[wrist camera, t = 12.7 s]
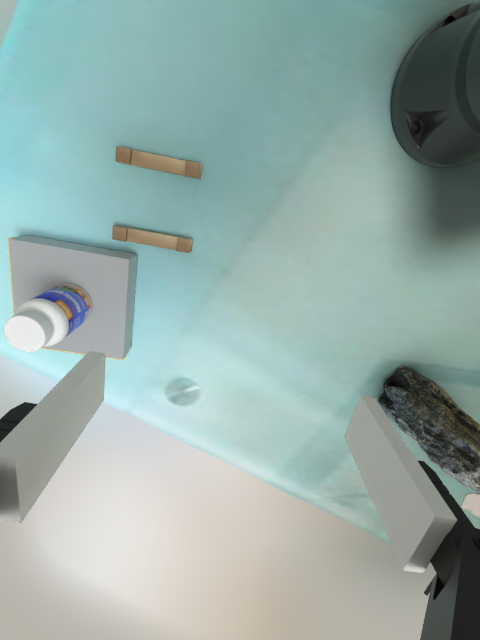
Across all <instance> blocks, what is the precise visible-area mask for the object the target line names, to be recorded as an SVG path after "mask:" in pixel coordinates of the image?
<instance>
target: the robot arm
mask: <svg viewBox="0 0 480 640" xmlns="http://www.w3.org/2000/svg"><path fill="white" fill-rule="evenodd" d="M391 116H392V123H393V127H394V131H395V134H396V137H397V139H398V141H399V143H400V144H401V146H402V147H403V149H404V150H405V151H406V152H407V153H408V154H409V155H410V156H411V157H412V158H413V159H415V160H416V161H418V162H420V163H422V164H425V165H428V166H432V167H450V166H457V165H462V164H466V163H470V162H473V161H475V160H478V159H480V1H479V2H475V3H471V4H468V5H465V6H463V7H461V8H458V9H456V10H455V11H453V12H451V13H449V14H448V15H446V16H445V17H443V18H442V19H441V20H439V21H438V22H437V23H436V24H435V25H434V26H432V27H431V28H430V29H429V30H428V31H427V32H425V33H424V34H423V35H422V36H421V37H420V38H419V39H418V41H417V42H416V43H415V44H414V45H413V47H412V48H411V50H410V51H409V52H408V54H407V56H406V57H405V59H404V61H403V63H402V65H401V67H400V69H399V72H398V74H397V77H396V80H395V84H394V88H393V93H392V101H391ZM105 355H106V353H100V352H94V351H89V352H88V353H87V354H86V355H85V356H84V357H83V358H82V359H81V360H80V361H79V362H78V363H77V364H76V365H75V366H74V367H73V369H72V370H71V371H70V372H69V373H68V374H67V375H66V376H65V377H64V378H63V379H62V380H61V381H60V382H59V383H58V384H57V385H56V386H55V387H54V388H53V389H52V390H51V391H50V392H49V393H48V394H47V395H46V396H45V397H44V398H43V399H42V400H41V401H40V402H39V403H38V404H33V403H26V402H24V403H23V404H21V405H19V406H17V407H15V408H13V409H11V410H10V411H9V412H8V413H7V414H5V415H4V416H3V417H2V418H1V419H0V521H9V522H16V523H22V521H23V519H24V518H25V516H26V515H27V513H28V512H29V510H30V509H31V507H32V506H33V505H34V503H35V502H36V500H37V499H38V497H39V496H40V494H41V493H42V491H43V490H44V488H45V487H46V485H47V484H48V482H49V481H50V479H51V477H52V476H53V475H54V473H55V472H56V470H57V469H58V467H59V466H60V464H61V463H62V461H63V460H64V458H65V457H66V455H67V454H68V452H69V451H70V449H71V448H72V446H73V445H74V443H75V442H76V440H77V439H78V437H79V436H80V434H81V433H82V431H83V430H84V428H85V427H86V425H87V424H88V422H89V421H90V419H91V418H92V417H93V415H94V414H95V412H96V411H97V409H98V408H99V406H100V405H101V403H102V402H103V400H104V382H105ZM344 437H345V439H346V442H347V444H348V446H349V449H350V451H351V453H352V455H353V458H354V460H355V462H356V464H357V467H358V469H359V471H360V474H361V476H362V478H363V480H364V483H365V485H366V487H367V489H368V492H369V494H370V496H371V499H372V501H373V503H374V505H375V508H376V510H377V512H378V514H379V517H380V519H381V521H382V524H383V526H384V528H385V530H386V533H387V535H388V537H389V539H390V542H391V544H392V546H393V549H394V551H395V553H396V555H397V558H398V560H399V562H400V564H401V567H402V569H403V570H405V571H413V572H422V573H423V572H424V571H425V569H426V568H427V566H428V565H429V563H430V562H431V563H432V565H433V567H434V569H435V571H436V572H437V574H436V575H435V577H434V578H433V580H432V581H431V582H430V584H429V585H428V587H427V589H426V590H425V592H424V593H425V594H426V595H428V594H429V592H430V595H429V600H428V605H427V610H426V614H425V619H424V624H423V629H422V634H421V639H420V640H480V529H477V528H475V527H474V526H473V525H472V523H471V522H470V520H469V519H468V518H467V516H466V515H465V513H464V512H463V511H462V509H461V508H460V506H459V505H458V504H457V502H456V501H455V499H454V498H453V497H452V495H451V494H449V491H448V490H447V488H446V487H445V485H443V483H442V481H441V480H440V478H439V477H438V476H437V474H436V473H435V472H434V471H433V470H432V469H431V468H430V467H429V466H428V465H427V464H426V463H425V462H424V461H417V460H416V458H415V457H414V455H413V454H412V452H411V451H410V449H409V448H408V446H407V445H406V443H405V442H404V440H403V439H402V438H401V436H400V435H399V433H398V432H397V430H396V429H395V427H394V426H393V424H392V423H391V421H390V420H389V418H388V417H387V415H386V414H385V412H384V411H383V409H382V408H381V407H380V405H379V404H378V402H377V401H376V399H375V398H374V397H368V396H362V395H360V398H359V400H358V403H357V405H356V408H355V411H354V413H353V416H352V418H351V421H350V423H349V426H348V428H347V431H346V433H345V436H344Z"/></svg>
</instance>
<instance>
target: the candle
mask: <svg viewBox="0 0 480 640" xmlns="http://www.w3.org/2000/svg"><path fill="white" fill-rule="evenodd" d="M461 507H462V509H466V510H469V511H470V512H471V513H472V514H473V515H475V516H478V517H480V494H474V493H473V494H468V495H466V498H465V499H464V501H463V502H462V506H461Z"/></svg>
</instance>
